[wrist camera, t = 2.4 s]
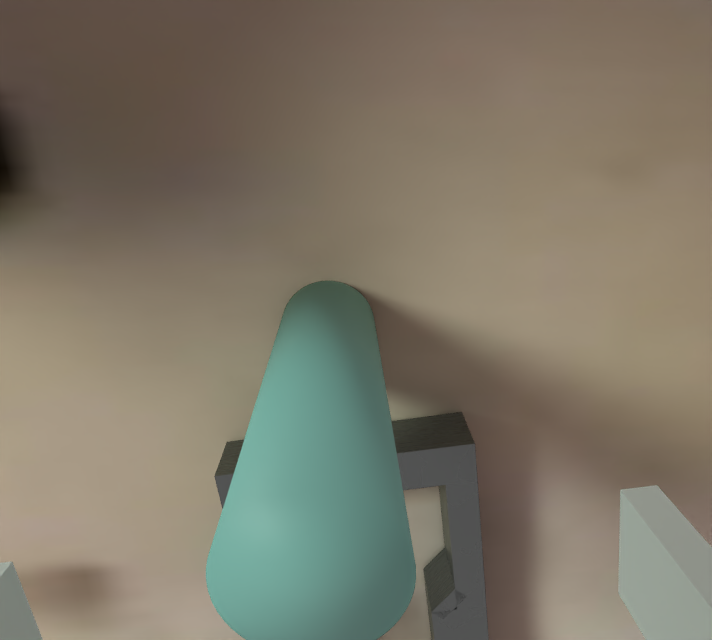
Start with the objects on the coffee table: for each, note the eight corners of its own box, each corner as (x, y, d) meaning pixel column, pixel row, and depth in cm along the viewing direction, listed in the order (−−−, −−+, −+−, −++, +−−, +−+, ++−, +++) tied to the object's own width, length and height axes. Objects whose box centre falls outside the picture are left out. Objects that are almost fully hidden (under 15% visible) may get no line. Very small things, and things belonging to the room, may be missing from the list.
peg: (274, 287, 26) (184, 504, 11) (368, 275, 26) (404, 476, 11) (290, 373, 28) (229, 668, 13) (379, 362, 28) (424, 645, 13)
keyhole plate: (227, 441, 29) (214, 476, 26) (461, 412, 29) (474, 443, 26) (291, 721, 35) (287, 773, 33) (483, 698, 35) (496, 749, 32)
